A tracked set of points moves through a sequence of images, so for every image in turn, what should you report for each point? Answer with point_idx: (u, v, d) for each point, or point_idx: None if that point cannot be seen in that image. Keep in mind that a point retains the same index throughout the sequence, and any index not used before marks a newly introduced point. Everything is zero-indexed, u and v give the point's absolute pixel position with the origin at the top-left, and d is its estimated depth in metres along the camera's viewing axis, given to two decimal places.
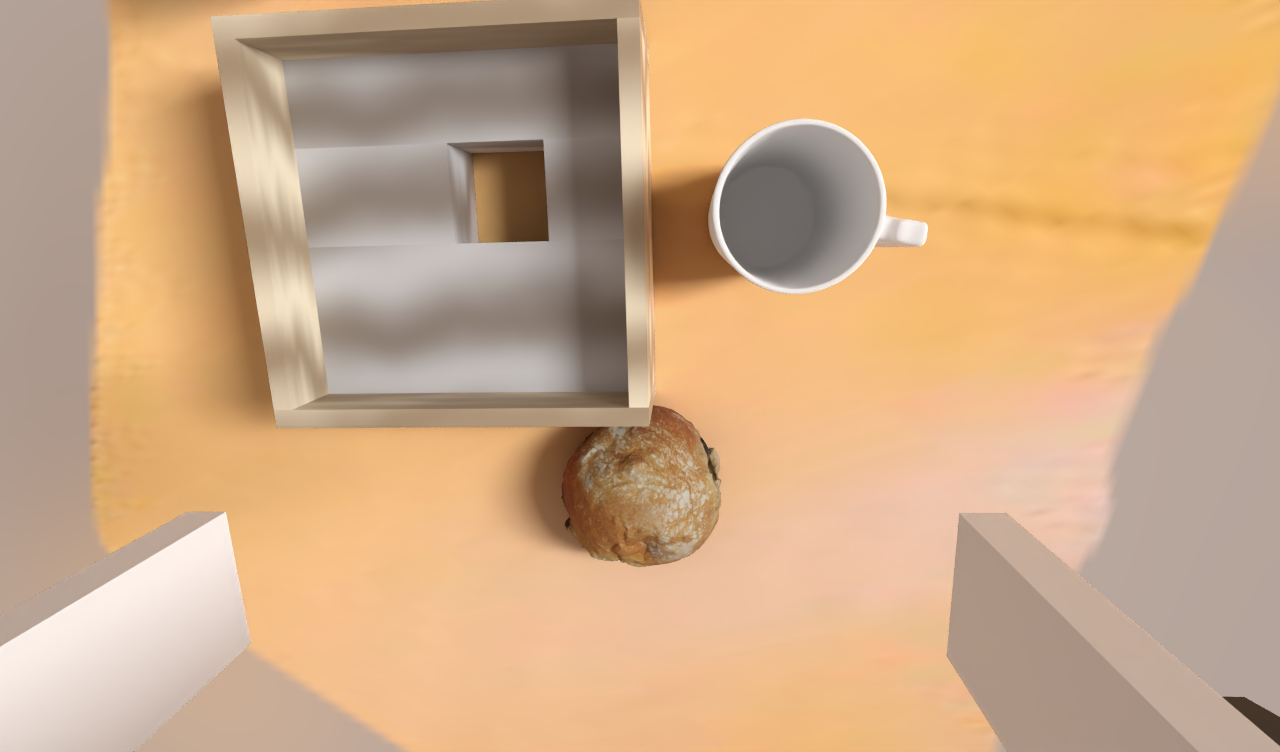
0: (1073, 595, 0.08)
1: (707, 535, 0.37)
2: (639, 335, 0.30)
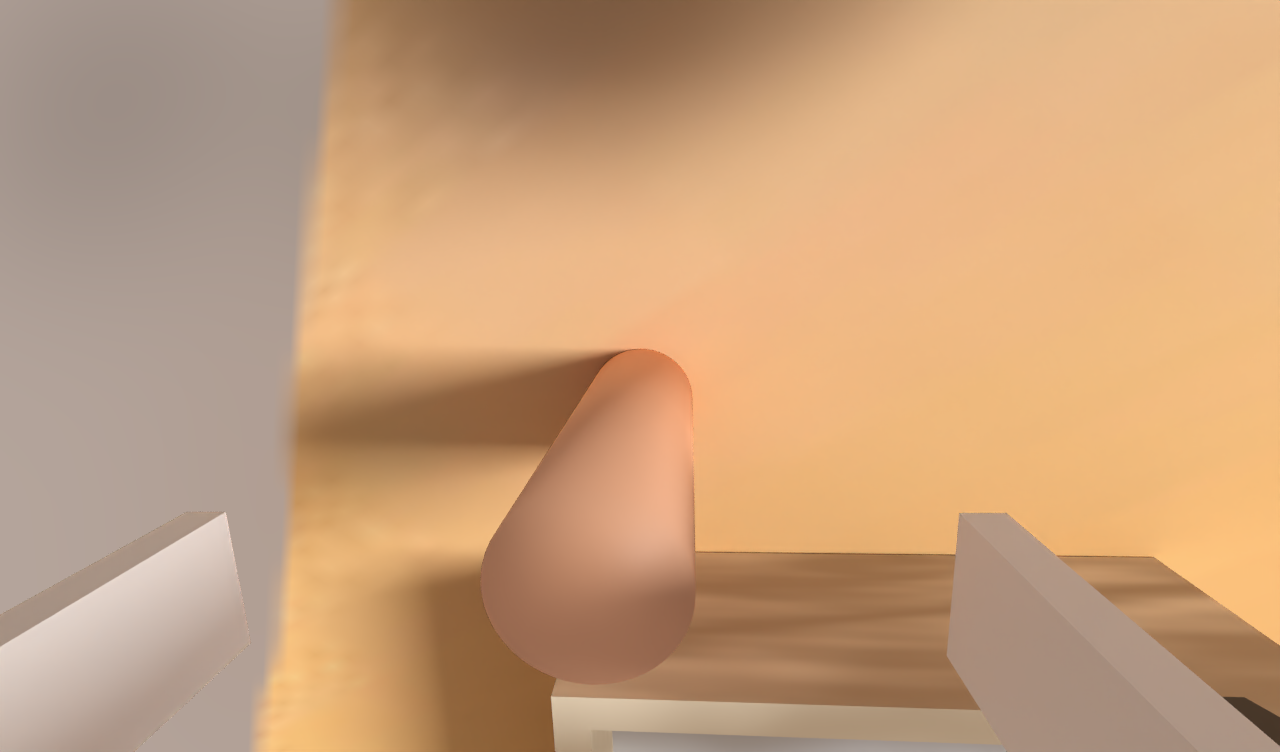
0: (1073, 595, 0.08)
1: None
2: None
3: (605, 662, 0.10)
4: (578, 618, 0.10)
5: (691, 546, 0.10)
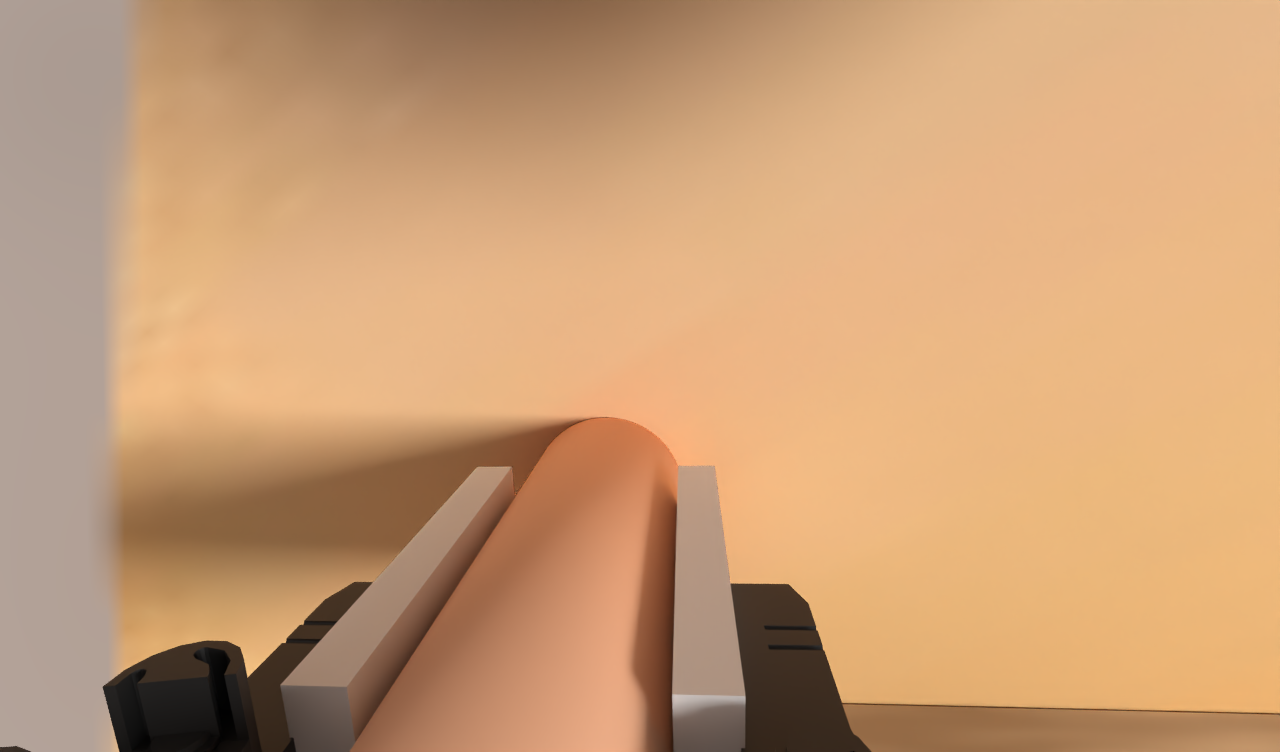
0: (700, 517, 0.10)
1: None
2: None
3: None
4: None
5: None
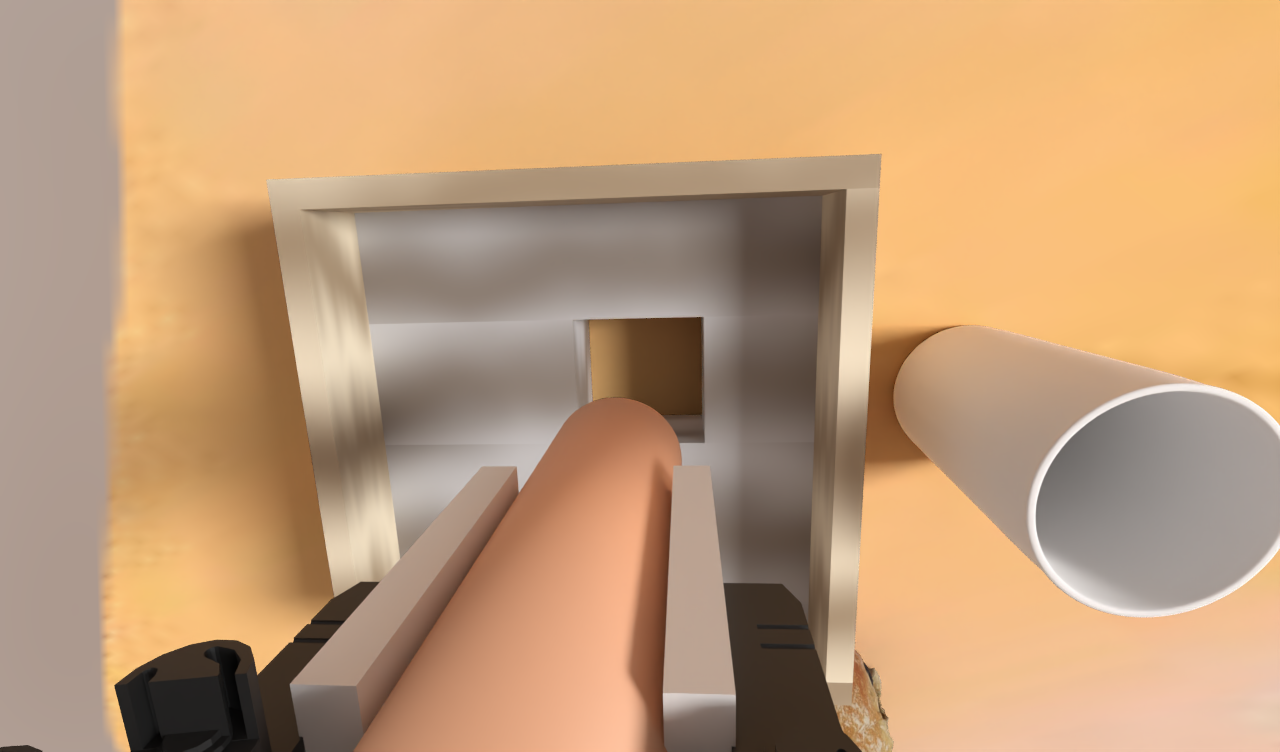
0: (694, 516, 0.10)
1: None
2: (846, 595, 0.22)
3: None
4: None
5: None
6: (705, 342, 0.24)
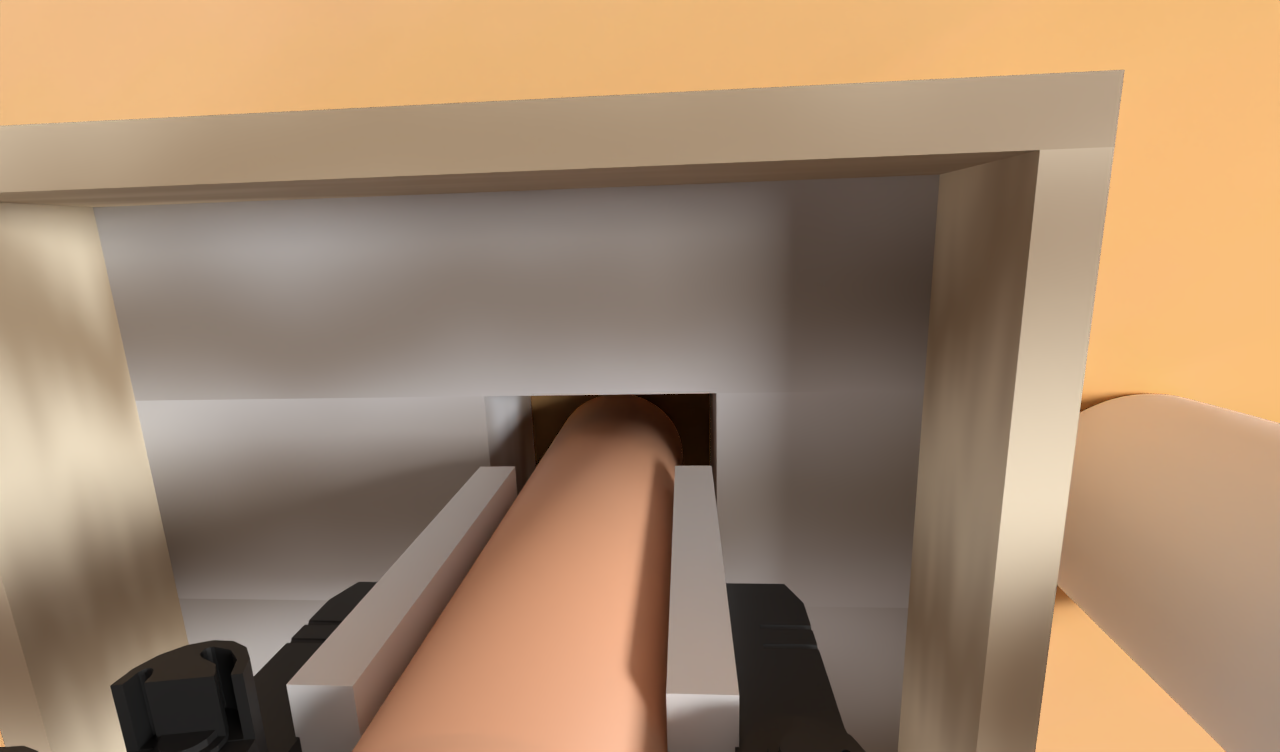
0: (696, 517, 0.10)
1: None
2: None
3: None
4: None
5: None
6: (719, 437, 0.14)
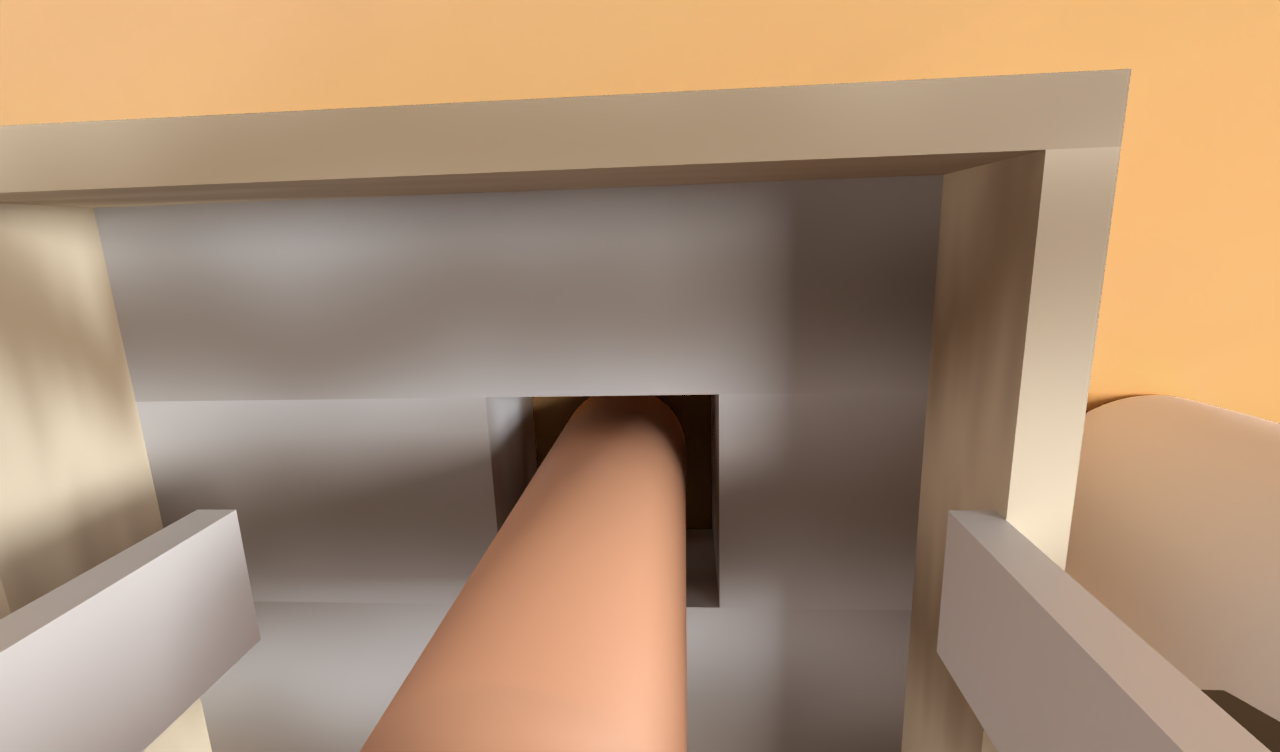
0: (1058, 590, 0.08)
1: None
2: None
3: None
4: None
5: (680, 750, 0.07)
6: (721, 439, 0.13)
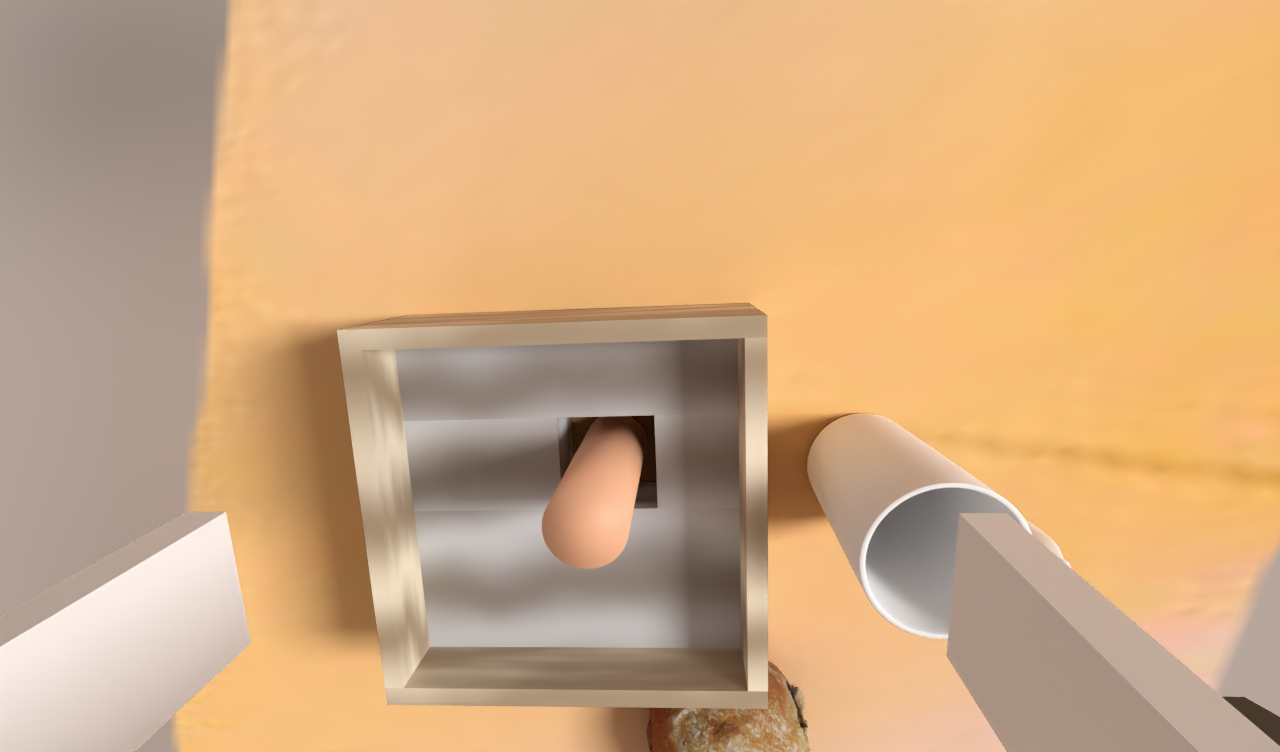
0: (1073, 595, 0.08)
1: None
2: (760, 625, 0.30)
3: (593, 559, 0.25)
4: (581, 540, 0.25)
5: (628, 510, 0.25)
6: (656, 434, 0.32)
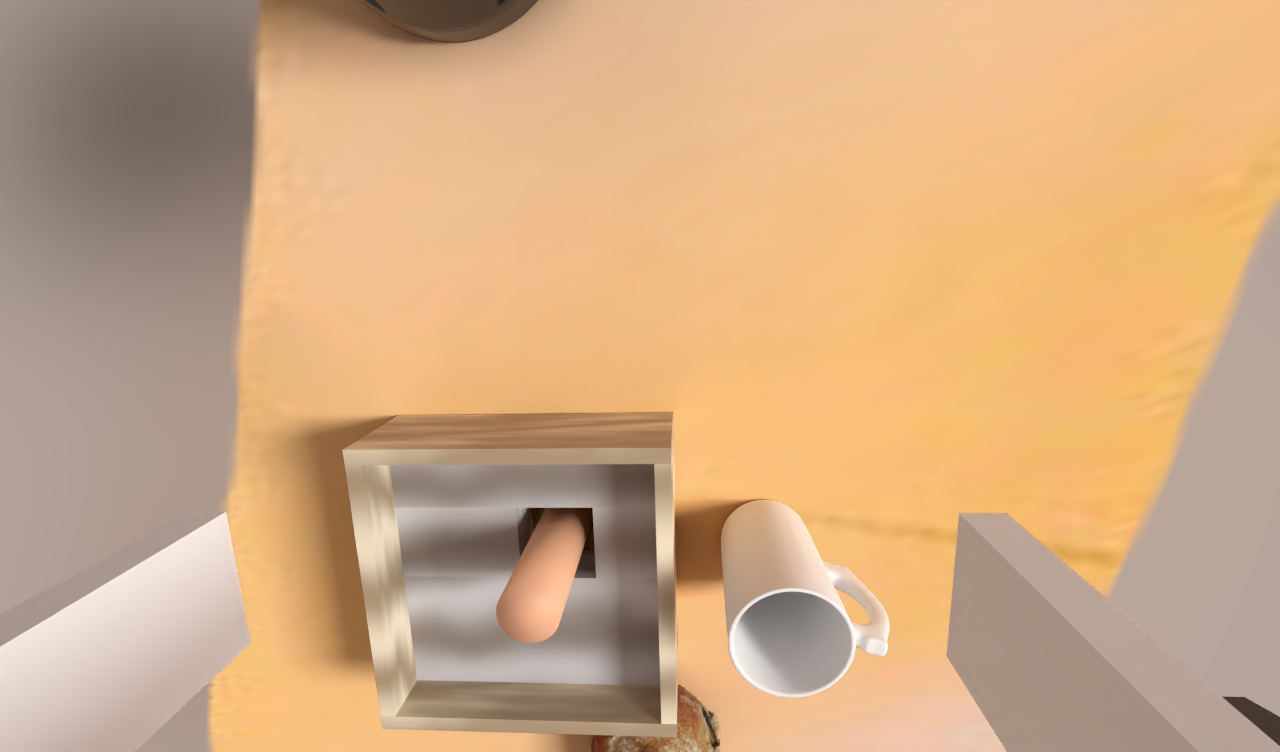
0: (1073, 595, 0.08)
1: None
2: (669, 674, 0.39)
3: (534, 636, 0.34)
4: (525, 622, 0.34)
5: (560, 600, 0.34)
6: (593, 522, 0.41)
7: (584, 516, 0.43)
